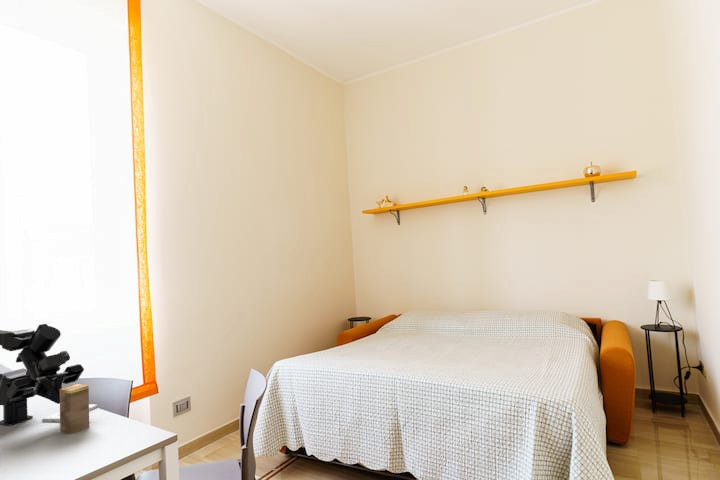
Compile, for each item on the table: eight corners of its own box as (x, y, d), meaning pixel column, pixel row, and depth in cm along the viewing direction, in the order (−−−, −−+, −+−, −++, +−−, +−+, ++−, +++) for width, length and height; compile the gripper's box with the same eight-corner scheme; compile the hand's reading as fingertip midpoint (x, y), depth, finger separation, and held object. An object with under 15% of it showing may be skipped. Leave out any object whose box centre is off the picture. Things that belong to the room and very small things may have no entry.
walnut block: (60, 432, 118) (59, 389, 118) (78, 425, 122) (77, 384, 123) (71, 434, 116) (70, 390, 117) (89, 427, 121) (88, 385, 121)
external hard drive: (97, 409, 138) (64, 423, 126) (76, 409, 139) (41, 423, 127) (97, 404, 138) (64, 418, 126) (76, 404, 139) (41, 418, 127)
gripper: (12, 351, 116) (36, 394, 112) (79, 338, 134) (103, 375, 129) (-4, 378, 119) (19, 421, 114) (64, 362, 136) (87, 399, 131)
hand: (60, 402), depth 122 cm, fingers closed
